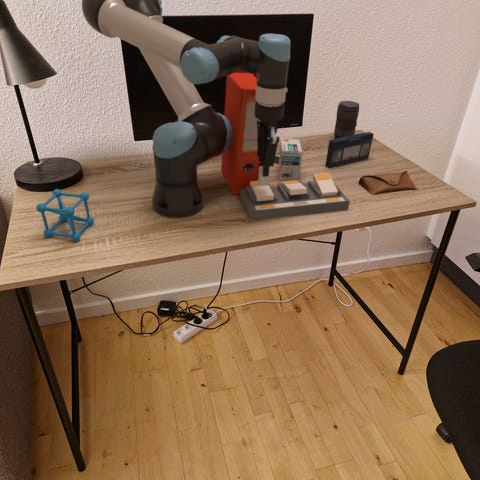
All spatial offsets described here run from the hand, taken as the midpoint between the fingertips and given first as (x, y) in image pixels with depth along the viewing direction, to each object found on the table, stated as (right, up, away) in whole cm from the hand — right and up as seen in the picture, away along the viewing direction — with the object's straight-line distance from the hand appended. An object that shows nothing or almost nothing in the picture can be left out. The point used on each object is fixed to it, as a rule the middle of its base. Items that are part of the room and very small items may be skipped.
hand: (263, 184), depth 123 cm
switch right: (+19, +1, +8) cm, 21 cm away
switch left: (0, -1, +4) cm, 4 cm away
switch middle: (+9, 0, +6) cm, 11 cm away
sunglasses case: (+42, +1, +19) cm, 46 cm away
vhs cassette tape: (+32, +12, +33) cm, 47 cm away
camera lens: (+34, +23, +49) cm, 64 cm away
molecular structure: (-52, -13, -7) cm, 54 cm away
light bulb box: (+10, +6, +24) cm, 27 cm away
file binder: (-7, +3, +18) cm, 20 cm away
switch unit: (+10, -5, +8) cm, 13 cm away
